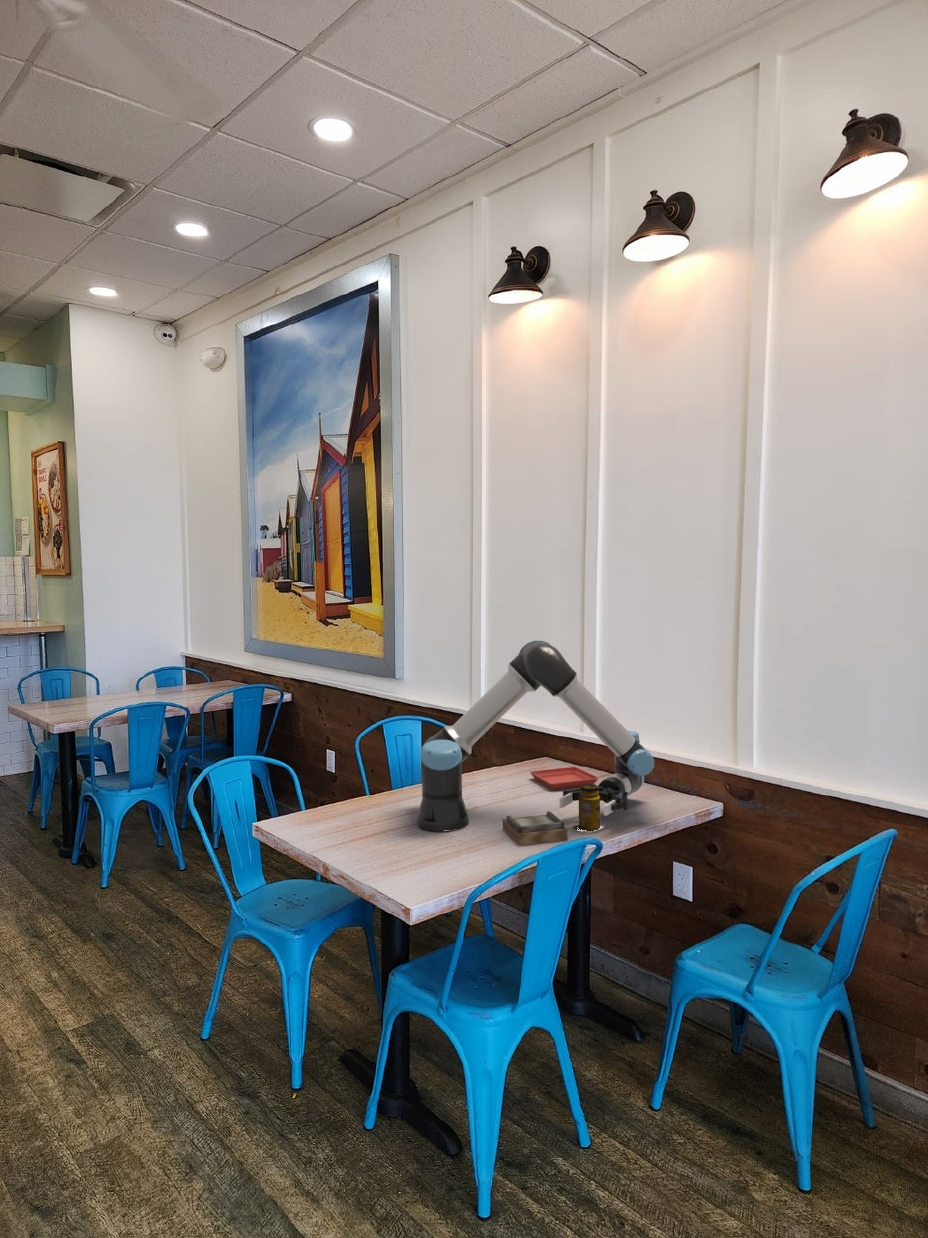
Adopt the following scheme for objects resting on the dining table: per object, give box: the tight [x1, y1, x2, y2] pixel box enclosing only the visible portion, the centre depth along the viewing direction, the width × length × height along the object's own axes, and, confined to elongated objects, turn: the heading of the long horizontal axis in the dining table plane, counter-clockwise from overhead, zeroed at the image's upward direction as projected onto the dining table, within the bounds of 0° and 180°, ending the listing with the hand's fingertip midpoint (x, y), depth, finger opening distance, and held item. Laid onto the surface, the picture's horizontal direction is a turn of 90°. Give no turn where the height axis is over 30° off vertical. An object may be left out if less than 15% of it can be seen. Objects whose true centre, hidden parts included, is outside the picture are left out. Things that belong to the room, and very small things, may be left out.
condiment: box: [568, 784, 601, 835], centre depth 227 cm, size 7×8×12 cm
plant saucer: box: [529, 766, 599, 791], centre depth 276 cm, size 18×18×3 cm
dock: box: [502, 810, 569, 846], centre depth 223 cm, size 14×14×4 cm
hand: (582, 807), depth 224 cm, fingers open, 13 cm apart
